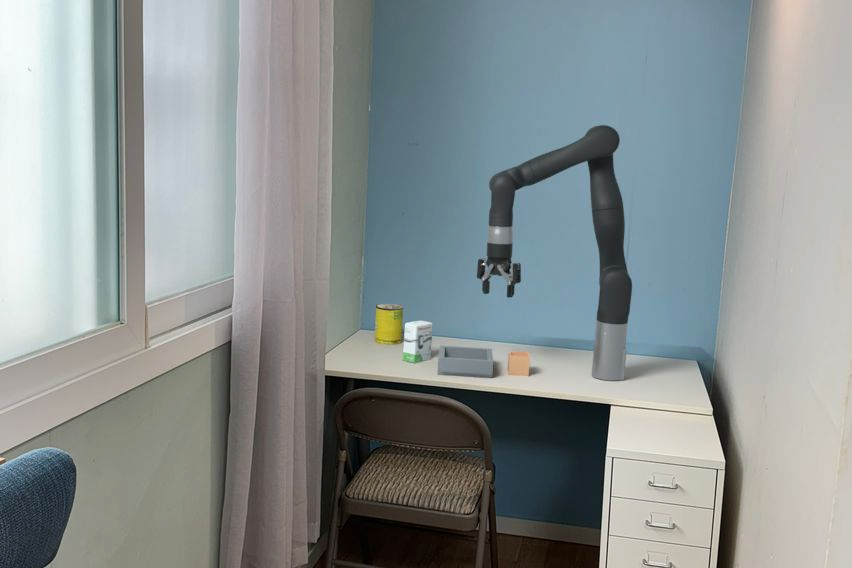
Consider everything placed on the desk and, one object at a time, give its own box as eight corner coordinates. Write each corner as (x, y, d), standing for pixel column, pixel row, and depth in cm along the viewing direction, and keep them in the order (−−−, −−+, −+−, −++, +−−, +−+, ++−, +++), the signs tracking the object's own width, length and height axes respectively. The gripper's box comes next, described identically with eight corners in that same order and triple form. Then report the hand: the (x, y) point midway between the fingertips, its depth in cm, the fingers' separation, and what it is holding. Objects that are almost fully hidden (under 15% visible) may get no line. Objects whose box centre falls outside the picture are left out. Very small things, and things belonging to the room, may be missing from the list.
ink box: (414, 363, 274) (416, 326, 272) (401, 360, 277) (403, 323, 275) (431, 359, 281) (433, 322, 279) (419, 356, 284) (421, 319, 282)
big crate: (490, 364, 278) (491, 348, 277) (492, 378, 262) (493, 361, 261) (439, 361, 278) (440, 345, 278) (437, 374, 263) (438, 358, 262)
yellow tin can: (401, 339, 305) (403, 304, 303) (401, 345, 296) (402, 309, 294) (375, 337, 305) (376, 303, 303) (373, 343, 296) (375, 308, 294)
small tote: (527, 371, 273) (528, 352, 272) (528, 376, 267) (529, 357, 266) (507, 370, 273) (508, 350, 272) (508, 375, 267) (509, 355, 266)
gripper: (527, 242, 262) (524, 297, 265) (487, 238, 271) (485, 290, 274) (512, 244, 256) (510, 300, 259) (472, 239, 265) (471, 293, 268)
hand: (497, 295), depth 266 cm, fingers open, 8 cm apart
